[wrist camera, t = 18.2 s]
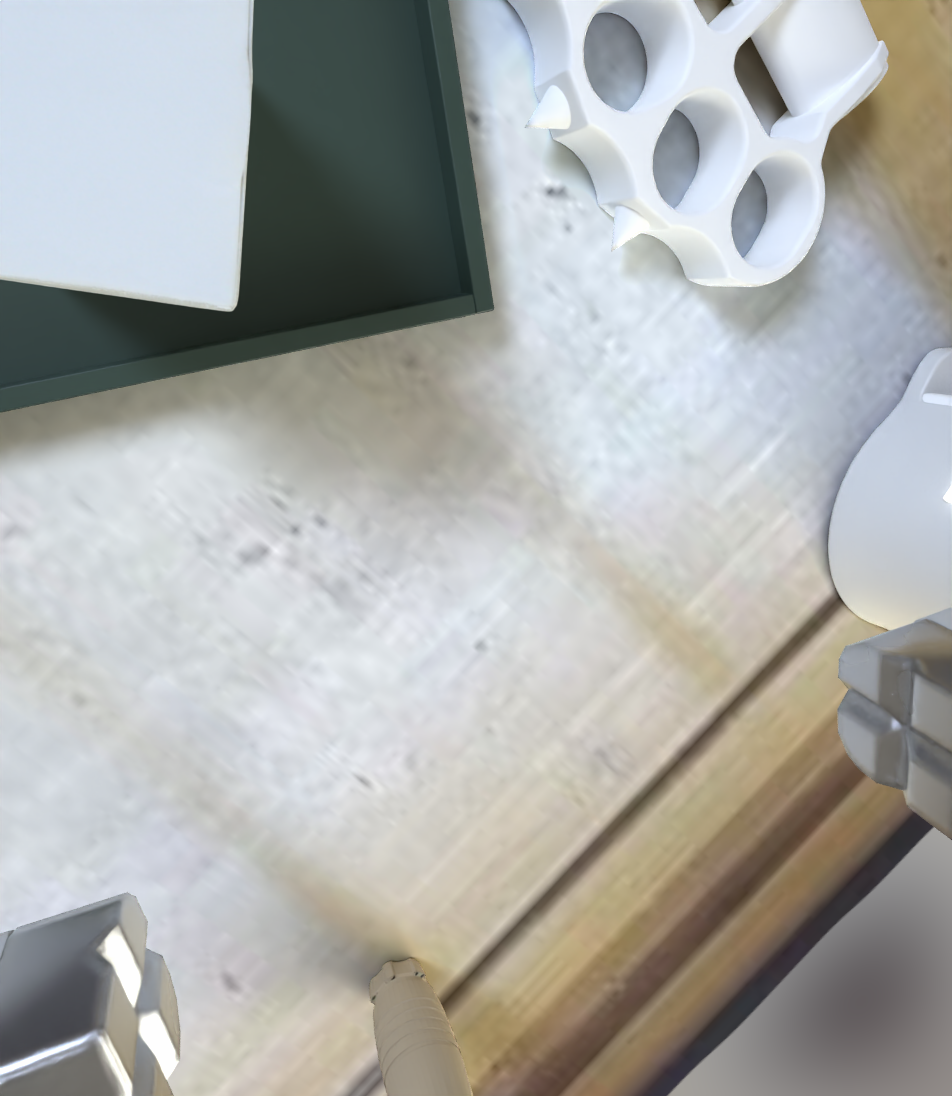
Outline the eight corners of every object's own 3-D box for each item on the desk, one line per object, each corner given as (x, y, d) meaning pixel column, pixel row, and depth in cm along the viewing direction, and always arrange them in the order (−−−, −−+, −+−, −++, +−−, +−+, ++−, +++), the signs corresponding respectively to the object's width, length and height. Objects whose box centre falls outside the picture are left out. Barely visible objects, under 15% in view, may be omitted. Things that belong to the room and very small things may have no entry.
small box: (27, 9, 25) (-115, -223, 13) (234, 59, 27) (265, -105, 16) (33, 274, 27) (-84, 271, 16) (224, 299, 30) (244, 314, 18)
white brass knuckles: (880, 134, 37) (665, 353, 37) (684, -287, 29) (408, -7, 29) (941, 121, 34) (706, 360, 34) (741, -352, 26) (433, -41, 26)
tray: (412, -112, 28) (427, -140, 26) (478, 308, 33) (495, 310, 31) (-300, -69, 23) (-345, -101, 21) (-83, 423, 28) (-103, 433, 26)
